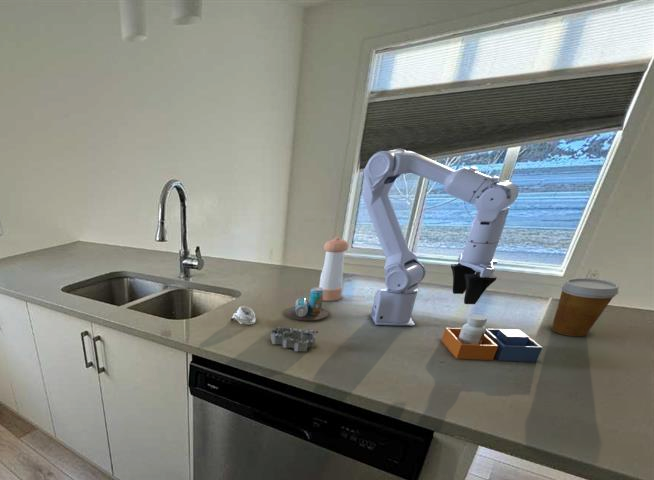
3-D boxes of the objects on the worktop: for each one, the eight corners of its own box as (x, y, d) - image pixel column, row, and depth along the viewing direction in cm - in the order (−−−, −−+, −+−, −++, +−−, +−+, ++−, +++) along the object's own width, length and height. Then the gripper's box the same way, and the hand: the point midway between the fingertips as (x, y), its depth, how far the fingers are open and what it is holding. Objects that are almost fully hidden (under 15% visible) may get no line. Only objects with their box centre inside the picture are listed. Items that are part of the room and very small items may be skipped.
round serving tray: (328, 322, 116) (332, 295, 112) (284, 320, 120) (287, 294, 116) (326, 308, 126) (330, 283, 122) (286, 306, 129) (288, 282, 125)
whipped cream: (242, 318, 126) (242, 302, 125) (261, 320, 122) (261, 304, 120) (227, 324, 122) (227, 308, 120) (246, 327, 117) (246, 310, 115)
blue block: (501, 352, 92) (507, 336, 90) (493, 345, 95) (499, 329, 93) (522, 353, 91) (529, 337, 89) (513, 345, 94) (520, 330, 92)
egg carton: (318, 345, 104) (320, 331, 102) (300, 354, 100) (302, 339, 98) (284, 334, 112) (285, 320, 110) (266, 342, 108) (267, 327, 106)
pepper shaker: (344, 300, 130) (354, 238, 121) (321, 301, 131) (330, 240, 121) (335, 293, 137) (344, 234, 127) (313, 294, 137) (321, 236, 127)
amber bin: (456, 358, 92) (461, 344, 91) (441, 340, 100) (445, 327, 99) (492, 360, 90) (498, 346, 89) (474, 341, 99) (479, 328, 97)
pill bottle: (482, 352, 93) (494, 320, 89) (460, 351, 94) (471, 320, 90) (473, 344, 97) (484, 313, 93) (452, 343, 97) (462, 313, 94)
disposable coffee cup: (586, 325, 101) (610, 278, 95) (603, 341, 94) (630, 290, 88) (537, 322, 105) (557, 276, 99) (550, 337, 97) (572, 288, 91)
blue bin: (498, 360, 90) (503, 346, 88) (479, 341, 98) (484, 328, 97) (536, 361, 88) (542, 347, 86) (513, 342, 96) (519, 329, 95)
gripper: (519, 247, 85) (496, 309, 92) (490, 234, 97) (471, 289, 104) (479, 248, 87) (459, 308, 94) (455, 235, 99) (439, 289, 105)
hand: (463, 298), depth 99 cm, fingers open, 7 cm apart
